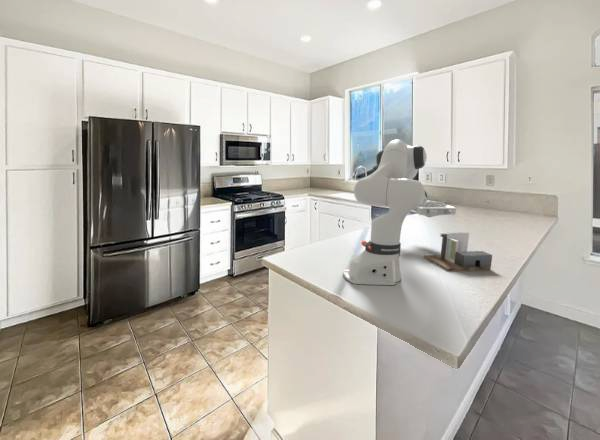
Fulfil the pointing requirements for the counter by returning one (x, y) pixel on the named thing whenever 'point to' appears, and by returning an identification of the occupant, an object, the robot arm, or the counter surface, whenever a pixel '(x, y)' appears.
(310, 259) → the counter surface
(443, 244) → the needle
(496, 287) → the counter surface
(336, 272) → the counter surface
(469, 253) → the stand
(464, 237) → the light grey boxy piece
